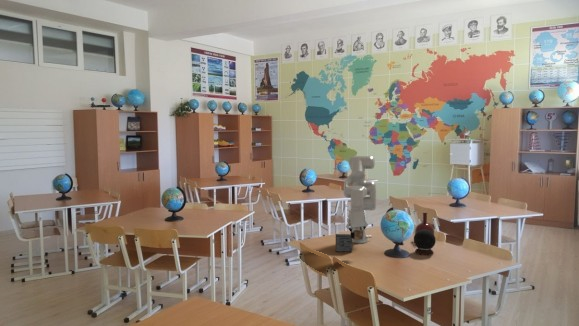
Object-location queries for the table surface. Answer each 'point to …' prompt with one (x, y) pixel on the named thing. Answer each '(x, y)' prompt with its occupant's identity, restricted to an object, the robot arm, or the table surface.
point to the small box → (343, 243)
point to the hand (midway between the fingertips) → (356, 237)
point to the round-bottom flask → (424, 225)
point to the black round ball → (424, 242)
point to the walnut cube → (358, 234)
